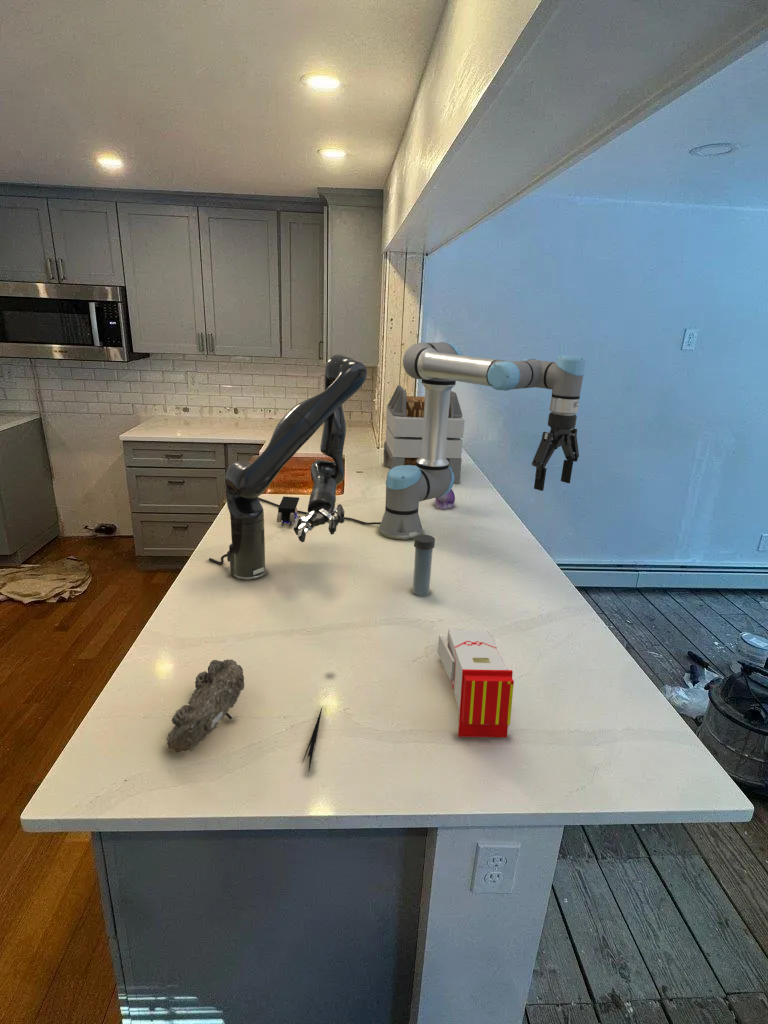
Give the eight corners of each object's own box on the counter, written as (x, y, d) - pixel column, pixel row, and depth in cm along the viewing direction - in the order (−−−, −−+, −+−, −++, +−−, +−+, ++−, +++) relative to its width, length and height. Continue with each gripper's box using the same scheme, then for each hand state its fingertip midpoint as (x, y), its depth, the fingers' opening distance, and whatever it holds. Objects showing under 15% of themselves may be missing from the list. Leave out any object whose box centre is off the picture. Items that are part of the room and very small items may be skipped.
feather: (331, 679, 122) (336, 673, 122) (307, 777, 96) (313, 769, 95) (324, 675, 122) (329, 669, 121) (298, 772, 95) (304, 764, 95)
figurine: (441, 511, 224) (444, 474, 219) (427, 503, 232) (430, 467, 227) (461, 508, 228) (464, 472, 223) (447, 500, 237) (450, 465, 232)
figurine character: (295, 532, 200) (300, 513, 214) (294, 513, 197) (299, 495, 210) (276, 531, 200) (282, 512, 213) (275, 512, 197) (281, 494, 210)
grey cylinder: (432, 591, 160) (436, 539, 155) (422, 597, 157) (426, 544, 151) (419, 586, 163) (422, 535, 157) (409, 592, 159) (412, 539, 154)
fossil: (192, 660, 117) (244, 628, 112) (224, 691, 120) (276, 661, 115) (142, 746, 98) (202, 712, 93) (182, 779, 101) (242, 748, 96)
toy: (488, 613, 130) (523, 677, 101) (484, 667, 133) (517, 744, 104) (435, 612, 130) (455, 676, 101) (432, 666, 133) (451, 743, 103)
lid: (438, 545, 155) (439, 538, 155) (426, 551, 151) (427, 544, 150) (421, 540, 159) (422, 532, 158) (409, 545, 154) (410, 538, 154)
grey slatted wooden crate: (382, 463, 289) (386, 382, 275) (445, 464, 293) (451, 384, 279) (390, 482, 257) (394, 392, 243) (460, 483, 261) (468, 394, 247)
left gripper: (294, 497, 163) (286, 531, 150) (340, 484, 161) (336, 518, 147) (304, 517, 168) (297, 552, 154) (349, 505, 165) (346, 539, 152)
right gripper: (548, 419, 148) (537, 496, 155) (598, 411, 163) (586, 482, 171) (525, 414, 153) (515, 489, 160) (575, 407, 169) (564, 476, 176)
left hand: (316, 535), depth 151 cm, fingers open, 8 cm apart
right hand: (552, 485), depth 166 cm, fingers open, 13 cm apart
